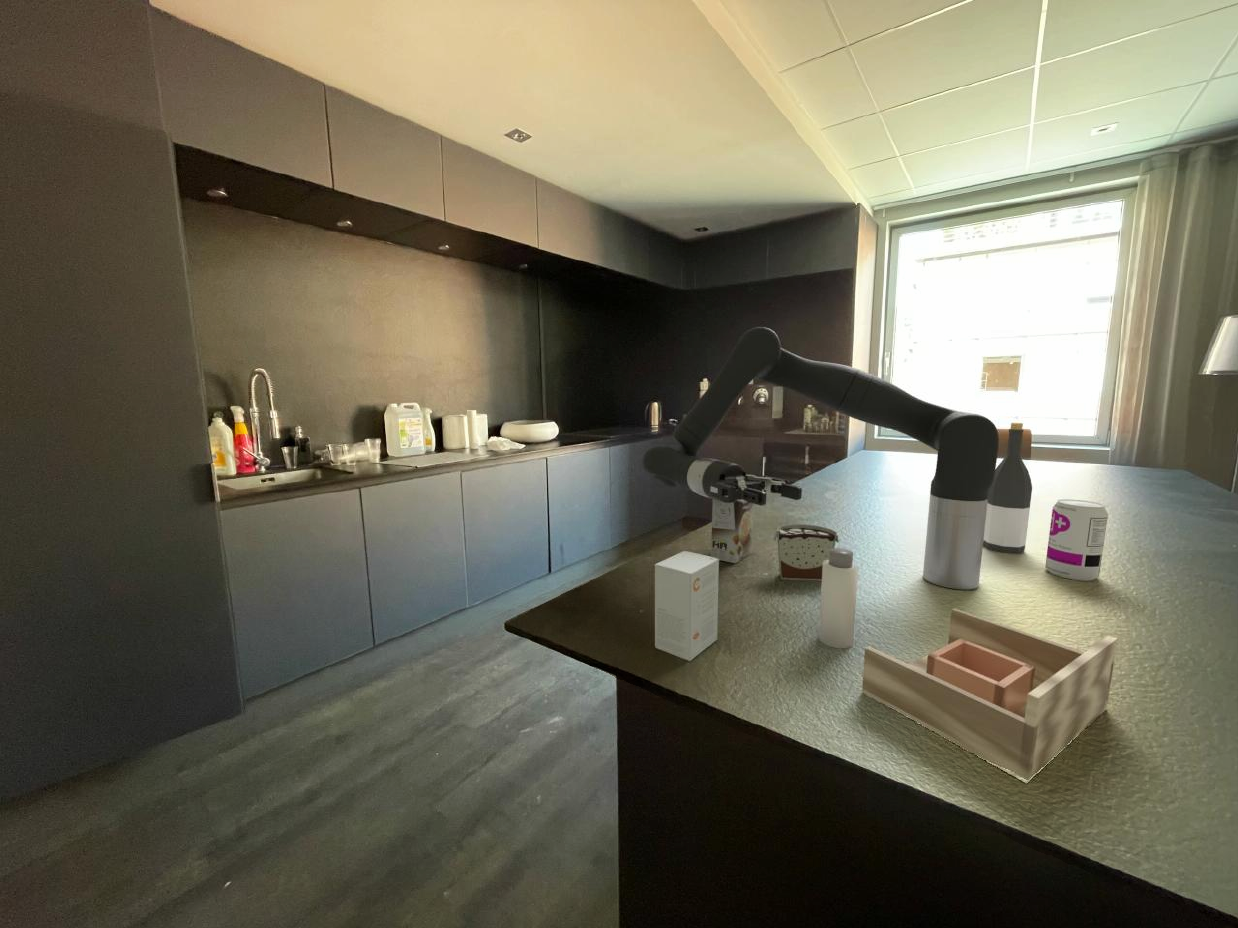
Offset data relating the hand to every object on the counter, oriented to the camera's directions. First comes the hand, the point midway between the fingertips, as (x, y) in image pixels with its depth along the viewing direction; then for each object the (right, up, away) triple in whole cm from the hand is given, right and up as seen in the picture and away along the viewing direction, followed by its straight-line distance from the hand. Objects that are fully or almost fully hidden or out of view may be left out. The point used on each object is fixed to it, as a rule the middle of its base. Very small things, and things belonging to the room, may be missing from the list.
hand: (783, 496), depth 81 cm
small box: (-17, -22, -7) cm, 29 cm away
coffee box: (-1, -16, +32) cm, 36 cm away
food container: (+11, -18, +21) cm, 29 cm away
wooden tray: (+17, -23, -21) cm, 36 cm away
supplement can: (+66, -18, +20) cm, 71 cm away
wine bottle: (+65, -15, +37) cm, 76 cm away
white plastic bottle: (+6, -21, -6) cm, 23 cm away
